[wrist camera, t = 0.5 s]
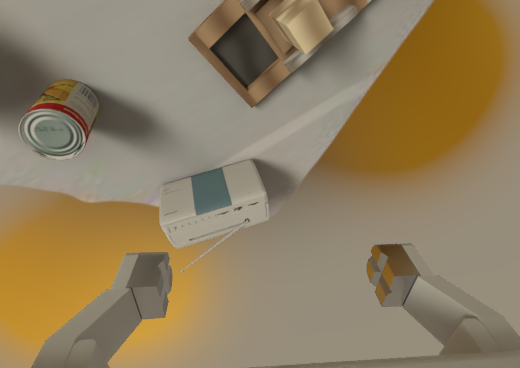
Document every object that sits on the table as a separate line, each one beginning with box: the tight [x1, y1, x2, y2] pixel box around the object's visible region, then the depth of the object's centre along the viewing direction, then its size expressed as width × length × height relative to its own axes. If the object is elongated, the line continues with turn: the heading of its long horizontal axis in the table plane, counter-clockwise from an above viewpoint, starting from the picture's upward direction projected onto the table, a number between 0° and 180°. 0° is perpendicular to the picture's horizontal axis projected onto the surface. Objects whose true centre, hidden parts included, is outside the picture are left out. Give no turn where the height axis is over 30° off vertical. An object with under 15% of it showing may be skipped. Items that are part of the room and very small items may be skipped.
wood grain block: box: [255, 0, 334, 54], centre depth 45 cm, size 8×8×10 cm
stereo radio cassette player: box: [159, 159, 270, 272], centre depth 60 cm, size 21×8×20 cm, turn 100°
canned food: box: [19, 79, 99, 160], centre depth 46 cm, size 8×8×12 cm
